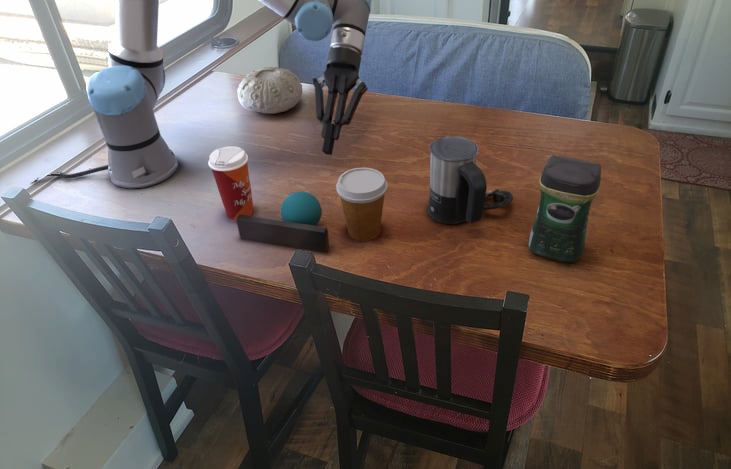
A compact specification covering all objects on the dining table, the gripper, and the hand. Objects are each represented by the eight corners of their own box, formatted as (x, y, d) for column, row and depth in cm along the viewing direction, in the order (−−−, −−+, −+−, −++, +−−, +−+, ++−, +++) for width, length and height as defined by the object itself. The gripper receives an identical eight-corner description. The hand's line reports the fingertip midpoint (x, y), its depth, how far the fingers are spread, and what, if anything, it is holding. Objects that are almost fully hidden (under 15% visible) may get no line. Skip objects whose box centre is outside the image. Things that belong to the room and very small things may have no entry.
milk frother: (417, 211, 111) (419, 148, 102) (464, 180, 119) (470, 119, 110) (474, 241, 103) (481, 175, 94) (520, 205, 111) (531, 142, 102)
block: (240, 239, 106) (235, 219, 103) (244, 234, 108) (239, 214, 104) (326, 253, 102) (324, 232, 99) (329, 247, 103) (327, 227, 100)
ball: (282, 184, 107) (284, 219, 111) (276, 202, 100) (279, 239, 104) (322, 184, 107) (323, 220, 111) (319, 203, 100) (320, 240, 105)
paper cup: (251, 225, 110) (238, 166, 101) (215, 222, 111) (200, 163, 102) (264, 203, 116) (253, 145, 107) (230, 200, 117) (216, 143, 108)
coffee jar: (585, 243, 101) (609, 157, 90) (577, 269, 96) (601, 181, 84) (533, 230, 105) (550, 145, 93) (523, 254, 99) (539, 168, 88)
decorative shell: (276, 127, 143) (271, 91, 136) (226, 113, 150) (219, 79, 144) (316, 100, 154) (312, 66, 148) (268, 89, 162) (262, 56, 156)
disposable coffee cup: (360, 210, 112) (358, 161, 104) (397, 227, 107) (397, 176, 100) (330, 234, 106) (324, 183, 99) (367, 253, 102) (364, 200, 94)
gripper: (313, 43, 121) (294, 145, 119) (369, 47, 118) (350, 151, 116) (323, 58, 129) (305, 154, 127) (376, 62, 125) (358, 160, 123)
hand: (327, 153), depth 121 cm, fingers closed
